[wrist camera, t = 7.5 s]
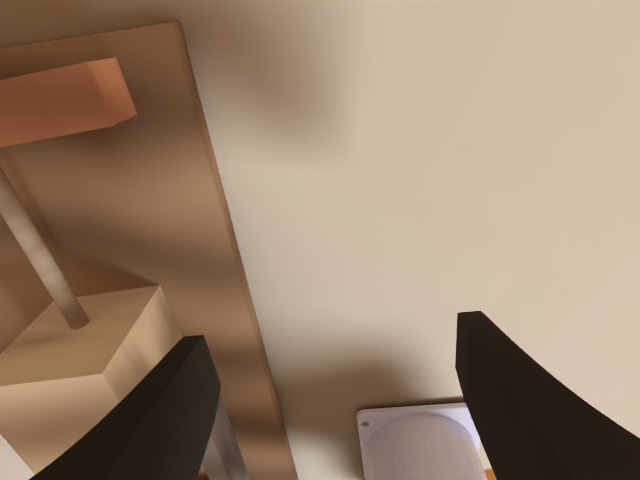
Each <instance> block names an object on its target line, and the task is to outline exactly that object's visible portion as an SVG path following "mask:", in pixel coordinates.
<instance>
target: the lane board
mask: <svg viewBox="0 0 640 480" xmlns="http://www.w3.org/2000/svg"><path fill="white" fill-rule="evenodd" d="M115 57H116V59H117V62H118V64H119V67H120V69H121V72H122V75H123V77H124V80H125V82H126V85H127V88H128V90H129V93H130V95H131V98H132V101H133V103H134V106H135V108H136V111H137V115H135V116H133V117H131V118H129V119H127V120H125V121H122V122H120V123H118V124H116V125H114V126H110V127H105V128H100V129H95V130H90V131H84V132H79V133H74V134H69V135H63V136H58V137H53V138H48V139H42V140H37V141H32V142H27V143H22V144H16V145H11V146H6V147H1V148H0V166H1V168H2V170H3V171H4V173H5V175H6V176H7V178H8V180H9V182H10V183H11V185H12V187H13V189H14V190H15V192H16V194H17V196H18V197H19V199H20V201H21V202H22V204H23V206H24V208H25V209H26V211H27V213H28V215H29V216H30V218H31V220H32V222H33V223H34V225H35V227H36V229H37V230H38V232H39V234H40V235H41V237H42V239H43V241H44V242H45V244H46V246H47V248H48V249H49V251H50V253H51V255H52V256H53V258H54V260H55V261H56V263H57V265H58V267H59V268H60V270H61V272H62V274H63V275H64V277H65V279H66V281H67V282H68V284H69V286H70V288H71V289H72V291H73V293H74V294H75V296H76V297H81V296H87V295H94V294H101V293H108V292H115V291H122V290H129V289H136V288H143V287H150V286H157V285H160V286H161V289H162V291H163V293H164V295H165V298H166V300H167V302H168V304H169V306H170V309H171V311H172V313H173V315H174V318H175V320H176V322H177V324H178V327H179V329H180V331H181V333H182V336H183V337H184V336H195V335H204V337H205V340H206V343H207V346H208V348H209V351H210V354H211V357H212V360H213V363H214V366H215V369H216V372H217V374H218V377H219V380H220V383H221V389H220V395H219V401H218V407H217V412H216V417H215V421H214V425H213V428H212V431H211V435H210V438H209V441H208V445H207V448H206V451H205V454H204V457H203V461H202V464H201V467H200V470H199V473H198V477H197V480H298V476H297V473H296V469H295V465H294V461H293V457H292V453H291V449H290V446H289V442H288V438H287V434H286V430H285V426H284V422H283V418H282V415H281V411H280V407H279V403H278V399H277V395H276V391H275V388H274V384H273V380H272V376H271V372H270V368H269V364H268V361H267V357H266V353H265V349H264V345H263V341H262V337H261V333H260V330H259V326H258V322H257V318H256V314H255V310H254V306H253V303H252V299H251V295H250V291H249V287H248V283H247V279H246V276H245V272H244V268H243V264H242V260H241V256H240V252H239V249H238V245H237V241H236V237H235V233H234V229H233V225H232V221H231V218H230V214H229V210H228V206H227V202H226V198H225V194H224V191H223V187H222V183H221V179H220V175H219V171H218V167H217V164H216V160H215V156H214V152H213V148H212V144H211V140H210V136H209V133H208V129H207V125H206V121H205V117H204V113H203V109H202V106H201V102H200V98H199V94H198V90H197V86H196V82H195V79H194V75H193V71H192V67H191V63H190V59H189V55H188V51H187V48H186V44H185V40H184V36H183V32H182V28H181V24H180V22H169V23H163V24H156V25H150V26H143V27H137V28H130V29H123V30H117V31H110V32H104V33H97V34H91V35H84V36H77V37H71V38H64V39H58V40H51V41H45V42H38V43H31V44H25V45H18V46H12V47H5V48H0V80H3V79H8V78H13V77H18V76H22V75H27V74H32V73H37V72H41V71H46V70H51V69H56V68H60V67H65V66H70V65H74V64H79V63H84V62H90V61H96V60H103V59H109V58H115ZM53 301H54V300H53V298H52V297H51V295H50V293H49V292H48V290H47V288H46V287H45V285H44V283H43V282H42V280H41V279H40V277H39V275H38V274H37V272H36V270H35V269H34V267H33V265H32V264H31V262H30V261H29V259H28V257H27V256H26V254H25V252H24V251H23V249H22V247H21V246H20V244H19V243H18V241H17V239H16V238H15V236H14V234H13V233H12V231H11V229H10V228H9V226H8V225H7V223H6V221H5V220H4V218H3V216H2V215H1V213H0V354H1V353H2V352H3V351H4V350H5V349H6V348H7V347H8V346H9V345H10V344H11V343H12V342H13V341H14V340H15V339H16V338H17V337H18V336H19V335H20V334H21V333H22V332H23V331H24V330H25V329H26V328H27V327H28V326H29V325H30V324H31V323H32V322H33V321H34V320H35V319H36V318H37V317H38V316H39V315H40V314H41V313H42V312H43V311H44V310H45V309H46V308H47V307H48V306H49V305H50V304H51V303H52V302H53Z"/></svg>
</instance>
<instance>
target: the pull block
mask: <svg viewBox="0 0 640 480" xmlns="http://www.w3.org/2000/svg"><path fill="white" fill-rule="evenodd" d="M135 115H137V111H136V108H135V106H134V103H133V101H132V98H131V95H130V93H129V90H128V88H127V85H126V82H125V80H124V77H123V75H122V72H121V69H120V67H119V64H118V62H117V59H116V57H115V58H109V59H103V60H96V61H90V62H84V63H79V64H74V65H70V66H65V67H60V68H56V69H51V70H46V71H41V72H37V73H32V74H27V75H22V76H18V77H13V78H8V79H3V80H0V148H1V147H6V146H11V145H16V144H22V143H27V142H32V141H37V140H42V139H48V138H53V137H58V136H63V135H69V134H74V133H79V132H84V131H90V130H95V129H100V128H105V127H110V126H114V125H116V124H118V123H120V122H122V121H125V120H127V119H129V118H131V117H133V116H135ZM0 213H1V215H2V216H3V218H4V220H5V221H6V223H7V225H8V226H9V228H10V229H11V231H12V233H13V234H14V236H15V238H16V239H17V241H18V243H19V244H20V246H21V247H22V249H23V251H24V252H25V254H26V256H27V257H28V259H29V261H30V262H31V264H32V265H33V267H34V269H35V270H36V272H37V274H38V275H39V277H40V279H41V280H42V282H43V283H44V285H45V287H46V288H47V290H48V292H49V293H50V295H51V297H52V298H53V300H54V301H53V302H52V303H51V304H50V305H49V306H48V307H47V308H46V309H45V310H44V311H43V312H42V313H41V314H40V315H39V316H38V317H37V318H36V319H35V320H34V321H33V322H32V323H31V324H30V325H29V326H28V327H27V328H26V329H25V330H24V331H23V332H22V333H21V334H20V335H19V336H18V337H17V338H16V339H15V340H14V341H13V342H12V343H11V344H10V345H9V346H8V347H7V348H6V349H5V350H4V351H3V352H2V353H1V354H0V434H1V435H2V436H3V437H4V438H5V440H6V441H7V442H8V443H9V444H10V445H11V447H12V448H13V449H14V450H15V451H16V452H17V454H18V455H19V456H20V457H21V458H22V460H23V461H24V462H25V463H26V464H27V465H28V467H29V468H30V469H31V470H32V471H33V472H34V474H35V475H36V474H37V473H38V472H40V471H41V470H42V469H44V468H45V467H46V466H48V465H49V464H50V463H52V462H53V461H54V460H55V459H57V458H58V457H59V456H60V455H62V454H63V453H64V452H65V451H66V450H67V449H69V448H70V447H71V446H72V445H73V444H75V443H76V442H77V441H78V440H79V439H81V438H82V437H83V436H84V435H85V434H86V433H87V432H89V431H90V430H91V429H92V428H93V427H94V426H95V425H96V424H97V423H99V422H100V421H101V420H102V419H103V418H104V417H105V416H106V415H107V414H108V413H109V412H110V411H111V410H112V409H113V408H114V407H115V406H116V405H117V404H118V403H119V402H120V401H121V400H122V399H124V398H125V397H126V396H127V395H128V394H129V393H130V392H131V391H132V390H133V389H134V388H135V387H136V385H137V384H138V383H139V382H140V381H141V380H142V379H143V378H144V377H145V376H146V375H147V374H148V373H149V372H150V371H151V370H152V369H153V368H154V367H155V366H156V365H157V364H158V363H159V361H160V360H161V359H162V358H163V357H164V356H165V355H166V354H167V353H168V352H169V351H170V350H171V349H172V348H173V347H174V346H175V345H176V343H177V342H178V341H179V340H180V339H182V338H183V336H182V333H181V331H180V329H179V327H178V324H177V322H176V320H175V318H174V315H173V313H172V311H171V309H170V306H169V304H168V302H167V300H166V298H165V295H164V293H163V291H162V289H161V286H160V285H157V286H150V287H143V288H136V289H129V290H122V291H115V292H108V293H101V294H94V295H87V296H81V297H76V296H75V294H74V293H73V291H72V289H71V288H70V286H69V284H68V282H67V281H66V279H65V277H64V275H63V274H62V272H61V270H60V268H59V267H58V265H57V263H56V261H55V260H54V258H53V256H52V255H51V253H50V251H49V249H48V248H47V246H46V244H45V242H44V241H43V239H42V237H41V235H40V234H39V232H38V230H37V229H36V227H35V225H34V223H33V222H32V220H31V218H30V216H29V215H28V213H27V211H26V209H25V208H24V206H23V204H22V202H21V201H20V199H19V197H18V196H17V194H16V192H15V190H14V189H13V187H12V185H11V183H10V182H9V180H8V178H7V176H6V175H5V173H4V171H3V170H2V168H1V166H0Z"/></svg>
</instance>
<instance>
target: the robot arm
mask: <svg viewBox="0 0 640 480" xmlns="http://www.w3.org/2000/svg"><path fill="white" fill-rule="evenodd" d="M455 368H456V371H457V375H458V379H459V382H460V386H461V389H462V393H463V396H464V400H465V403H450V404H435V405H421V406H406V407H391V408H377V409H363V410H360V411H358V413H357V424H358V431H359V439H360V447H361V455H362V463H363V470H364V478H365V480H487V478H486V475H485V472H484V469H483V466H482V463H481V461H480V458H479V449H480V440H481V442H482V445H483V447H484V450H485V452H486V454H487V457H488V459H489V462H490V464H491V467H492V469H493V471H494V474H495V476H496V479H497V480H640V438H638V437H637V436H635V435H634V434H632V433H631V432H629V431H627V430H626V429H624V428H623V427H621V426H620V425H618V424H617V423H615V422H614V421H613V420H611V419H610V418H608V417H607V416H605V415H604V414H602V413H601V412H599V411H598V410H597V409H595V408H594V407H592V406H591V405H589V404H588V403H587V402H585V401H584V400H583V399H581V398H580V397H579V396H577V395H576V394H575V393H573V392H572V391H571V390H570V389H568V388H567V387H566V386H565V385H563V384H562V383H561V382H560V381H558V380H557V379H556V378H555V377H553V376H552V375H551V374H550V373H549V372H547V371H546V370H545V369H544V368H543V367H541V366H540V365H539V364H538V363H537V362H536V361H535V360H533V359H532V358H531V357H530V356H529V355H528V354H526V353H525V352H524V351H523V350H522V349H521V348H520V347H519V346H518V345H516V344H515V343H514V342H513V341H512V340H511V339H510V338H509V337H508V336H507V335H506V334H505V333H504V332H503V331H501V330H500V329H499V328H498V327H497V326H496V325H495V324H494V323H493V322H492V321H491V320H490V319H489V318H488V317H487V316H486V315H485V314H484V313H482V312H481V311H473V312H462V313H458V317H457V341H456V365H455ZM220 389H221V383H220V380H219V377H218V374H217V372H216V369H215V366H214V363H213V360H212V357H211V354H210V351H209V348H208V346H207V343H206V340H205V337H204V335H195V336H184V337H183V338H182V339H180V340H179V341H178V342H177V343H176V345H175V346H174V347H173V348H172V349H171V350H170V351H169V352H168V353H167V354H166V355H165V356H164V357H163V358H162V359H161V360H160V361H159V363H158V364H157V365H156V366H155V367H154V368H153V369H152V370H151V371H150V372H149V373H148V374H147V375H146V376H145V377H144V378H143V379H142V380H141V381H140V382H139V383H138V384H137V385H136V387H135V388H134V389H133V390H132V391H131V392H130V393H129V394H128V395H127V396H126V397H125V398H124V399H122V400H121V401H120V402H119V403H118V404H117V405H116V406H115V407H114V408H113V409H112V410H111V411H110V412H109V413H108V414H107V415H106V416H105V417H104V418H103V419H102V420H101V421H100V422H99V423H97V424H96V425H95V426H94V427H93V428H92V429H91V430H90V431H89V432H87V433H86V434H85V435H84V436H83V437H82V438H81V439H79V440H78V441H77V442H76V443H75V444H73V445H72V446H71V447H70V448H69V449H67V450H66V451H65V452H64V453H63V454H62V455H60V456H59V457H58V458H57V459H55V460H54V461H53V462H52V463H50V464H49V465H48V466H46V467H45V468H44V469H42V470H41V471H40V472H38V473H37V474H36V475H34V476H33V477H32V478H30V479H29V480H197V477H198V473H199V470H200V467H201V464H202V461H203V457H204V454H205V451H206V448H207V445H208V441H209V438H210V435H211V431H212V428H213V425H214V421H215V417H216V412H217V407H218V401H219V395H220Z"/></svg>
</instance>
